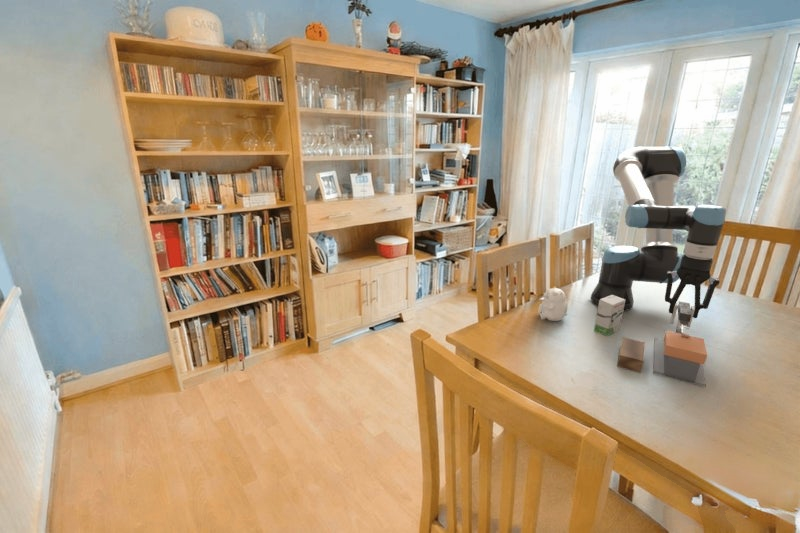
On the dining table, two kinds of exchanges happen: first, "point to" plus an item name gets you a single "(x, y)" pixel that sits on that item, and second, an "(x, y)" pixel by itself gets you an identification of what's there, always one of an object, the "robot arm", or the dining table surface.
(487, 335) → the dining table surface
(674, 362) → the block
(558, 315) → the figurine
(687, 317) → the grey t-shaped piece
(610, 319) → the ink box
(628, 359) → the brown wooden block
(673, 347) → the cover
